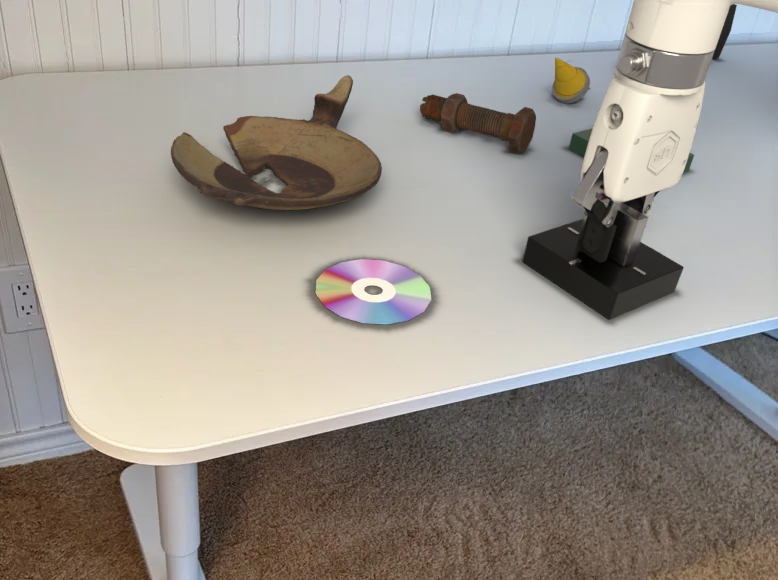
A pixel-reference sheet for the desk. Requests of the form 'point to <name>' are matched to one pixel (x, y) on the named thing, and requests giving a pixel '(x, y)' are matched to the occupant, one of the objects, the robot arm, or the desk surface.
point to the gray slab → (624, 233)
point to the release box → (582, 139)
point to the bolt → (481, 120)
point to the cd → (395, 304)
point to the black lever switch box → (601, 272)
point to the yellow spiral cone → (569, 82)
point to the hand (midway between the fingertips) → (605, 249)
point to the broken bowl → (285, 159)
